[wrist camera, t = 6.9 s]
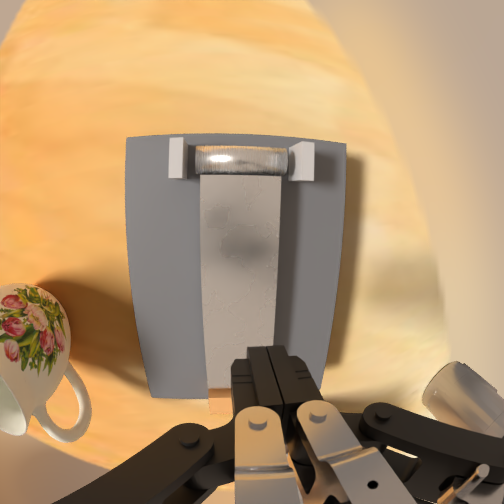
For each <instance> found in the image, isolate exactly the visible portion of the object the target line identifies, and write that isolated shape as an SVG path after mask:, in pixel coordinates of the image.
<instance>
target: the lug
mask: <svg viewBox="0 0 504 504" xmlns="http://www.w3.org/2000/svg"><path fill="white" fill-rule="evenodd" d="M208 398H209V408H210V414H232V413H233V410H232V399H231V388H216V389H208Z"/></svg>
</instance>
